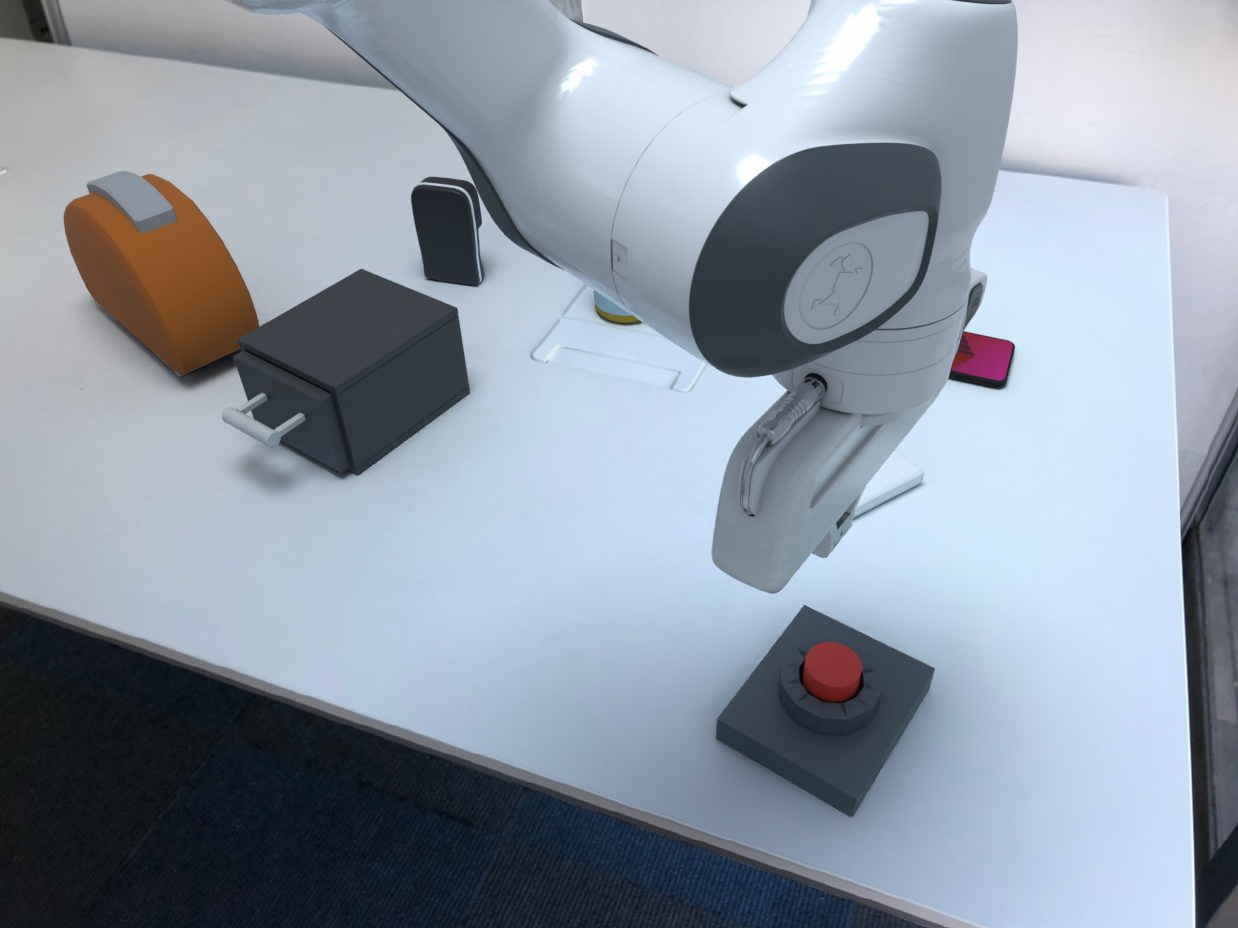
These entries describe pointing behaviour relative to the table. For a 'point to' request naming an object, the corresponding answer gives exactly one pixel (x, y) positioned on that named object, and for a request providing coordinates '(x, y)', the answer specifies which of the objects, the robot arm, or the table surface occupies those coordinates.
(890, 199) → the robot arm
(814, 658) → the button
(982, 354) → the smartphone
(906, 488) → the hard drive
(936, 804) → the table surface
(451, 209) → the battery charger
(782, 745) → the control block
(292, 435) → the drawer
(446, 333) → the dark grey box
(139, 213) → the alarm clock
